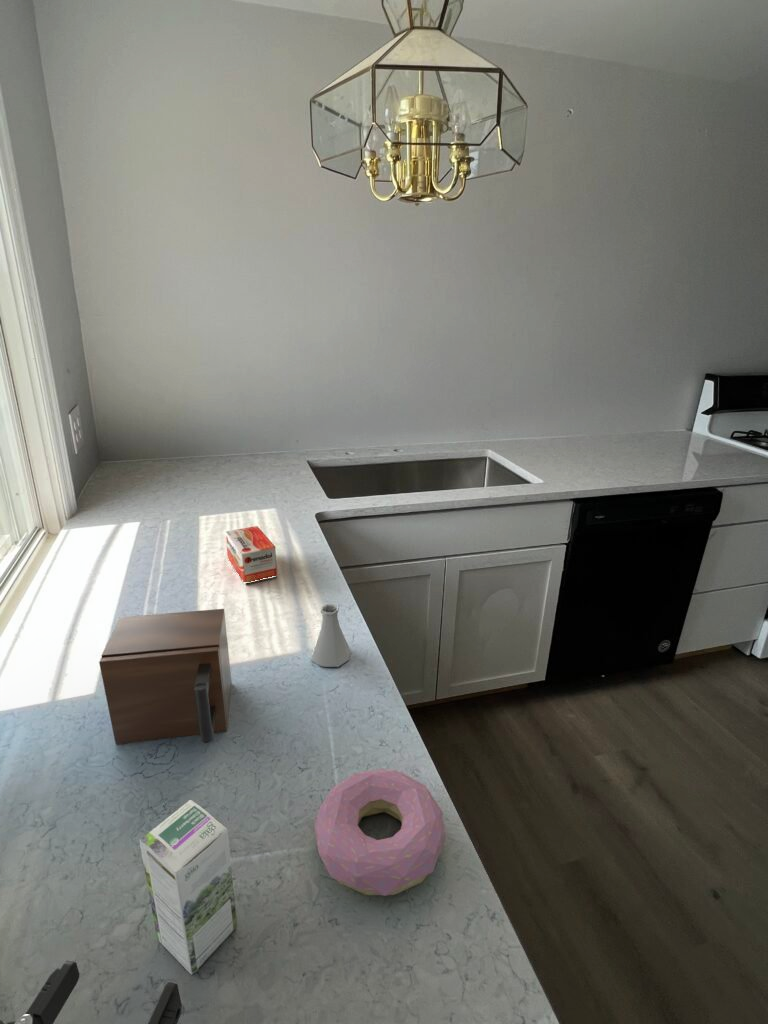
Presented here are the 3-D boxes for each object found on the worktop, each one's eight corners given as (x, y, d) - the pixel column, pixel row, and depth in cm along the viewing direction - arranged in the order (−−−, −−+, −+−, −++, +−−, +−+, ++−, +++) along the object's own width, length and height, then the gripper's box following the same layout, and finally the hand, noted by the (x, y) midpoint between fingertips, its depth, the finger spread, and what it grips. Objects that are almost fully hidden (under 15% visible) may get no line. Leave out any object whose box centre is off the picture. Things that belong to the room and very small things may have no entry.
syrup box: (203, 895, 60) (188, 794, 55) (240, 928, 57) (228, 825, 52) (156, 941, 56) (135, 836, 51) (193, 980, 53) (175, 873, 48)
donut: (470, 857, 65) (473, 826, 63) (361, 937, 57) (361, 903, 55) (392, 771, 77) (393, 742, 75) (292, 826, 68) (290, 796, 67)
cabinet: (227, 726, 84) (218, 644, 79) (117, 739, 81) (101, 655, 76) (231, 684, 93) (224, 608, 88) (133, 694, 91) (119, 617, 85)
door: (223, 760, 78) (214, 676, 73) (104, 776, 75) (85, 689, 70) (227, 726, 84) (218, 646, 79) (117, 739, 81) (100, 657, 76)
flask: (340, 672, 97) (340, 622, 93) (303, 663, 99) (301, 614, 96) (356, 649, 103) (356, 602, 100) (321, 641, 106) (320, 595, 102)
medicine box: (227, 560, 138) (224, 530, 135) (259, 553, 141) (257, 524, 138) (244, 586, 125) (241, 554, 122) (278, 578, 129) (277, 547, 126)
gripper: (45, 1346, 26) (204, 963, 41) (-209, 1265, 28) (31, 929, 43) (74, 1404, 29) (214, 1025, 44) (-160, 1326, 31) (50, 990, 46)
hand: (123, 978), depth 43 cm, fingers open, 8 cm apart
